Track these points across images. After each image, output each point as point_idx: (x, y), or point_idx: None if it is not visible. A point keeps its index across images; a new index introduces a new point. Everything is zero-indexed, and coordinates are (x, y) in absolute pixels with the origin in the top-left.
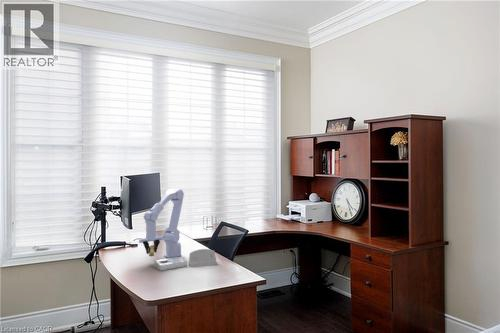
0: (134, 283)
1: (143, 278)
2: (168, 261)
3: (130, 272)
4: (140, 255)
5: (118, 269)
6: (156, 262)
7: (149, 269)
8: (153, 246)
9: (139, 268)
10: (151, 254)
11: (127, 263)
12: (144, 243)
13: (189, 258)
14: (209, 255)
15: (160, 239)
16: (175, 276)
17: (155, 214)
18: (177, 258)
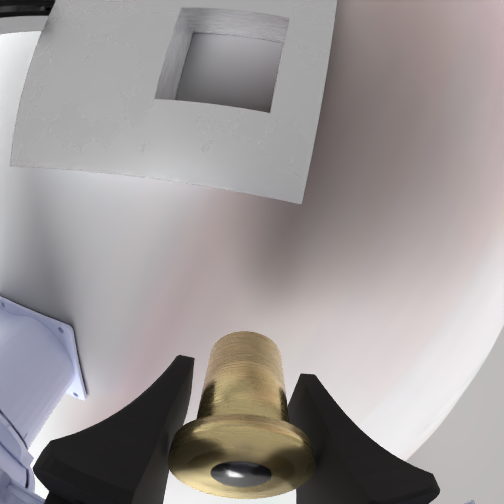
0: None
1: (475, 12)
2: (168, 52)
3: (498, 186)
4: None
5: (489, 314)
6: (316, 103)
7: (385, 120)
8: (230, 436)
9: (424, 227)
10: (264, 350)
11: (380, 407)
12: (428, 502)
13: (19, 16)
14: None
15: (20, 493)
16: None
17: None
18: (43, 104)
